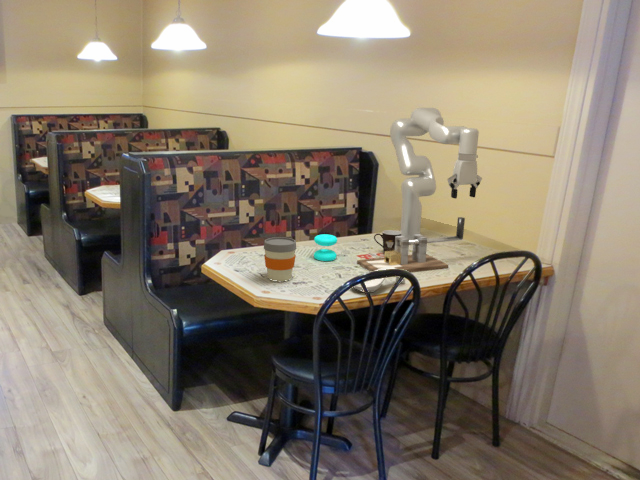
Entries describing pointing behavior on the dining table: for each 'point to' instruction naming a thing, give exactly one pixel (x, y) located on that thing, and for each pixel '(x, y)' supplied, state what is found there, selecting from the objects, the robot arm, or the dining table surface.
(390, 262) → the block
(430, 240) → the shaft
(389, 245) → the coffee mug
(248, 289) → the dining table surface
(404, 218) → the robot arm
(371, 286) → the spoon rest
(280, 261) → the reusable coffee cup
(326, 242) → the turquoise hourglass
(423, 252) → the wooden base with brackets
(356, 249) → the dining table surface
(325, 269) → the dining table surface
